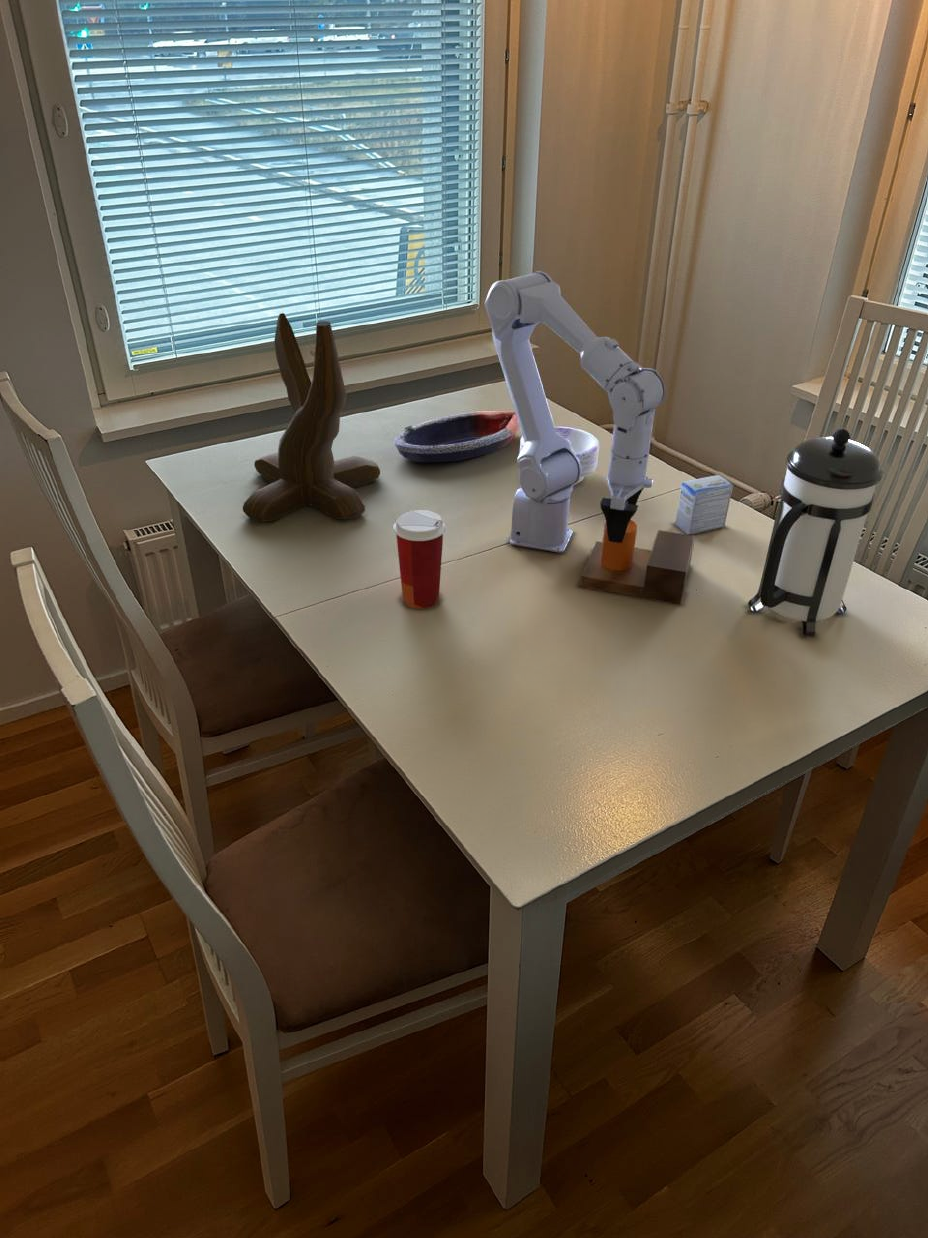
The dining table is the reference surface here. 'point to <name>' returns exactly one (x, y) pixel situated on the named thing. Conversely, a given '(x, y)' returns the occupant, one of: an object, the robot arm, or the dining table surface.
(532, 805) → the dining table surface
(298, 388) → the wooden stand
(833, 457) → the coffee press
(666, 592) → the shelf riser
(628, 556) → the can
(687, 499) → the medicine box
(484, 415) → the dish
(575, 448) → the paper bowls
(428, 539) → the paper cup
